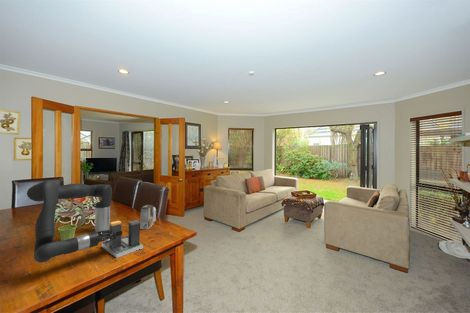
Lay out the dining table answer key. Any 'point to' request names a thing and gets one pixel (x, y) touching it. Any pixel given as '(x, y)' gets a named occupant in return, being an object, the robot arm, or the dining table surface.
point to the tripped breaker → (114, 228)
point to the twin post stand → (126, 241)
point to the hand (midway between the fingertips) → (120, 231)
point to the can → (154, 214)
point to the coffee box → (146, 217)
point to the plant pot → (67, 232)
